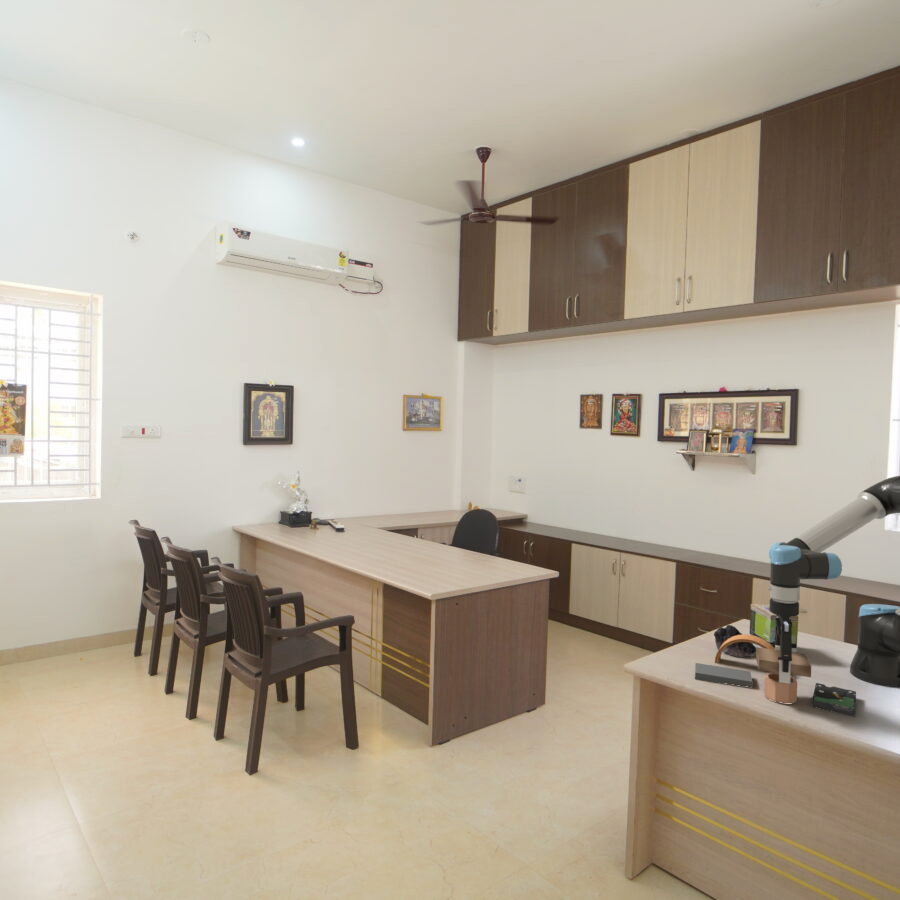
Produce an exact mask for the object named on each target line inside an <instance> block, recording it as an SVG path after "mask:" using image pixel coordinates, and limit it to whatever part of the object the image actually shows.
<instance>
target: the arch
mask: <svg viewBox="0 0 900 900" xmlns="http://www.w3.org/2000/svg"><path fill="white" fill-rule="evenodd" d="M742 634H743V633H742ZM736 642H749V643H753V644H756V645H758V646H760V647H762V648H766V649H773V650H775V648H774V647H773V646H772V645H771V644H769V643H768V642H767V641H765V640H763V639H762V638H759V637H757V636H753V635H749V634H746V633H745V634H743V635H736V636H733V637H731V638H729V639H728V640H726V641H725V642H724V643H723V644H722V646H721V647H720V649H719V650H717V652H716V654H715V657H714V664H719V663H720V661H721V657H722V653H723V652H722V651H723V650H724V649H725V648H726V647H727V646H729V645H731V644H733V643H736Z"/></svg>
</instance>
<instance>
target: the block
mask: <svg viewBox="0 0 900 900" xmlns="http://www.w3.org/2000/svg"><path fill="white" fill-rule="evenodd" d="M698 679H700V681H704V680H706V682H710V681H713V682H712V683H717V682H720V683H719V684H723V683H727V684H726V685H729V684H734V685H733V686H735V685H740V686H739V687H741V686H748V687H752V688H753V679H752V673H751V671H750V670H743V669H738V668H732V667H727V666H726V667H725V666H724V667H723V666H720V665H719V666H718V665H712V664H706V663H700V662H698V663H697V662H695V669H694V680H698ZM748 687H747V688H748Z"/></svg>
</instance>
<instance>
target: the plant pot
mask: <svg viewBox="0 0 900 900" xmlns="http://www.w3.org/2000/svg"><path fill="white" fill-rule="evenodd" d="M763 683H764V688H763V691H764V692H763V694H764V697H765V698H766V697H767V698H769V699H771V700H773V701H776V702H782V703H793V702H795V703H797V700H798V681H797V678H796V677H794V676H791V675H790V684H788V683H781V682H779V673H776V672H766V673H764V681H763ZM767 698H766V699H767ZM769 699H768V700H769ZM771 700H770V701H771ZM773 701H772V702H773ZM776 702H775V703H776ZM793 704H794V703H793Z"/></svg>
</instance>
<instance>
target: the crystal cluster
mask: <svg viewBox="0 0 900 900" xmlns="http://www.w3.org/2000/svg"><path fill="white" fill-rule="evenodd" d="M736 635H743V633H741V632H740V631H739V630H738V629H737V627H735V626H733V625H730V624H727V625H726V626H725V627H722V626H720V627H718V629H716V631H714V633H713V636H714V638H715V639H714V640H715V641H714V642H715V645H716V646H715V647H716V649H717V651H719V649H720V647H721V646H722V644H723V643H724V642H725V641H726V640H728V639H729V638H731V637H733V636H736ZM722 653H724V654H726V655H730V656H733V657H739V658H741V657H742V658H743V657H744V658H745V657H746V656H752V657H754V656H753V655H756V647H755V646H754V645H753V643H749V642H736V643H733V644H731V645H729V646H727V647H726V648H725V649H724V650H723V651H722ZM746 658H747V657H746Z"/></svg>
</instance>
